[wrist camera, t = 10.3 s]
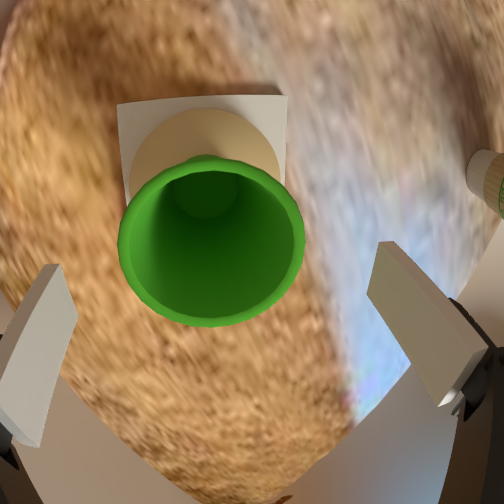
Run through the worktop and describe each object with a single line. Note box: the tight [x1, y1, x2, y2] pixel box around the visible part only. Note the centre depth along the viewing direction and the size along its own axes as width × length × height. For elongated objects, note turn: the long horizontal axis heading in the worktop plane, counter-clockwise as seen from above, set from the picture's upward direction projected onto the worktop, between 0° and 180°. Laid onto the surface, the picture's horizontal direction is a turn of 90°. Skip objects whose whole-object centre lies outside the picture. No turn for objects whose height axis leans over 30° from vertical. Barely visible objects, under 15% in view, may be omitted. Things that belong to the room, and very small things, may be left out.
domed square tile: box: [117, 95, 287, 206], centre depth 26 cm, size 14×14×4 cm
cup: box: [117, 154, 306, 327], centre depth 20 cm, size 9×9×11 cm
